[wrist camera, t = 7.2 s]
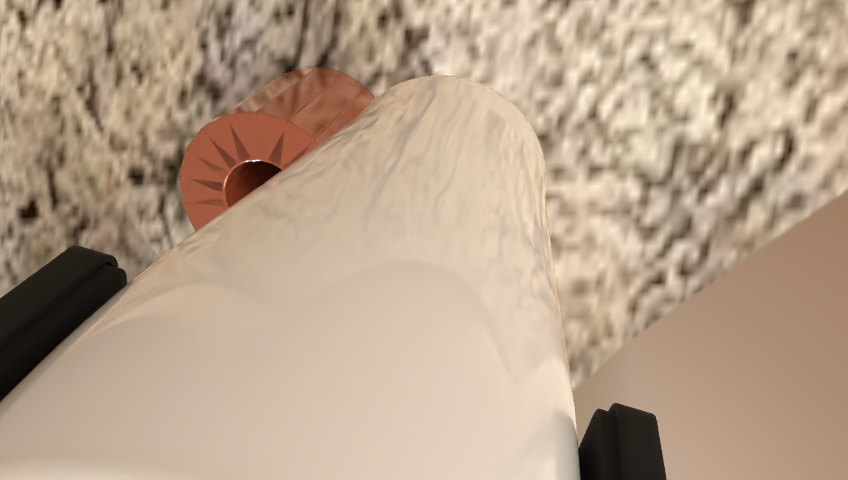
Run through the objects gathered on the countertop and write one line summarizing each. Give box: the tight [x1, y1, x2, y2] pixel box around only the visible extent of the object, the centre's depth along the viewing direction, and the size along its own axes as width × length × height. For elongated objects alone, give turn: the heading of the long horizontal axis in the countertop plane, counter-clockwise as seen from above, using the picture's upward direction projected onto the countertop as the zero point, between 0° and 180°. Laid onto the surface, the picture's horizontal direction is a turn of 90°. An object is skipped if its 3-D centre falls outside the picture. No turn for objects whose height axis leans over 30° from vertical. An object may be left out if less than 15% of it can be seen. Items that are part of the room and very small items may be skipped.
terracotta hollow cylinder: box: [179, 67, 375, 231], centre depth 36 cm, size 11×8×8 cm
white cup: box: [0, 75, 581, 480], centre depth 13 cm, size 7×7×15 cm
